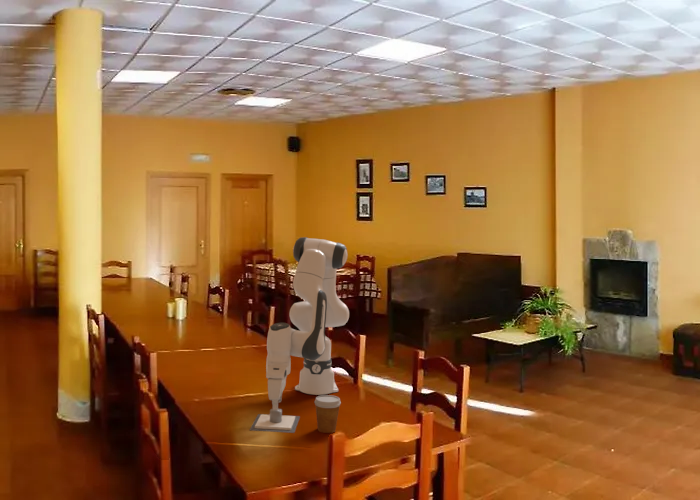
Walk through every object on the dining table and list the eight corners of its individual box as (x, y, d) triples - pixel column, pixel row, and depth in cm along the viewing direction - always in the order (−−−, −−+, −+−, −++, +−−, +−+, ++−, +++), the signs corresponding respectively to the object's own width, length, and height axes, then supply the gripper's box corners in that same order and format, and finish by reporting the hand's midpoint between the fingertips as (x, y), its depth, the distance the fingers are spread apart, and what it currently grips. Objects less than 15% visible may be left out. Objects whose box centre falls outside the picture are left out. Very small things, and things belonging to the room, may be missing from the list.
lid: (261, 416, 251) (261, 403, 251) (295, 418, 251) (295, 405, 250) (254, 428, 238) (255, 414, 238) (291, 430, 238) (291, 416, 237)
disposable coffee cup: (339, 427, 245) (340, 395, 244) (339, 436, 235) (341, 403, 234) (313, 426, 244) (314, 394, 243) (312, 435, 235) (314, 402, 234)
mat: (258, 415, 254) (258, 414, 254) (300, 417, 253) (300, 416, 253) (249, 431, 236) (249, 430, 236) (294, 434, 235) (294, 432, 235)
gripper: (273, 361, 253) (272, 397, 254) (265, 374, 233) (264, 413, 233) (290, 362, 253) (289, 398, 254) (283, 375, 232) (282, 414, 233)
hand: (277, 405), depth 243 cm, fingers open, 8 cm apart
